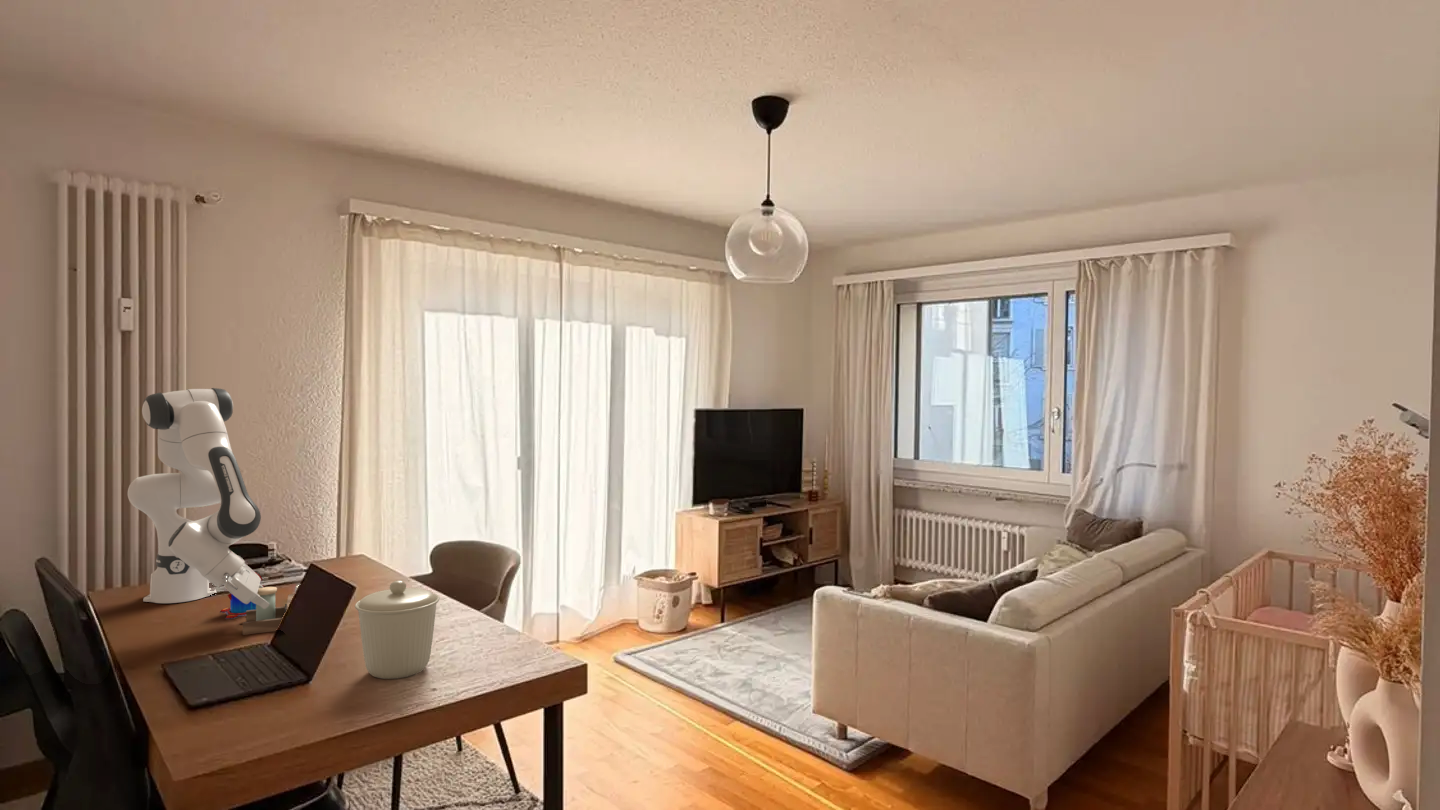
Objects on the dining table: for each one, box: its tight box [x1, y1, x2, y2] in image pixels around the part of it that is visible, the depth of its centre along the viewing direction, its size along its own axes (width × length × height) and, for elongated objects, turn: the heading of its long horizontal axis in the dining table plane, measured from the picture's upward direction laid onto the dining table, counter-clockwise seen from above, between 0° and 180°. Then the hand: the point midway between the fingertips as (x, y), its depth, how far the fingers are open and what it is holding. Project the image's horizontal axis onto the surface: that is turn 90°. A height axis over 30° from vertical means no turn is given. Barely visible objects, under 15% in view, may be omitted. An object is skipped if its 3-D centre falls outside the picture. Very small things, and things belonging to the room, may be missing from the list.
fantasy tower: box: [219, 571, 265, 620], centre depth 227 cm, size 12×12×12 cm
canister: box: [354, 580, 440, 680], centre depth 180 cm, size 18×18×21 cm
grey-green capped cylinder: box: [256, 586, 278, 621], centre depth 214 cm, size 5×5×10 cm
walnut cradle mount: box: [242, 593, 294, 636], centre depth 215 cm, size 16×12×6 cm
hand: (268, 602), depth 215 cm, fingers open, 8 cm apart
